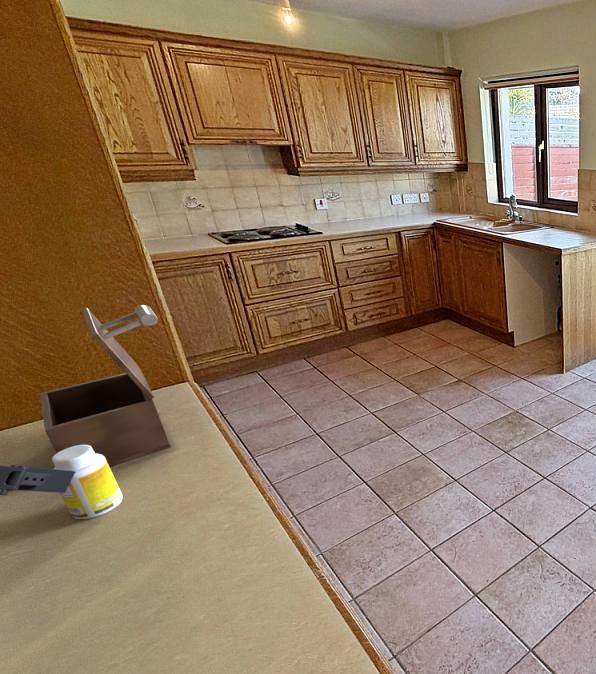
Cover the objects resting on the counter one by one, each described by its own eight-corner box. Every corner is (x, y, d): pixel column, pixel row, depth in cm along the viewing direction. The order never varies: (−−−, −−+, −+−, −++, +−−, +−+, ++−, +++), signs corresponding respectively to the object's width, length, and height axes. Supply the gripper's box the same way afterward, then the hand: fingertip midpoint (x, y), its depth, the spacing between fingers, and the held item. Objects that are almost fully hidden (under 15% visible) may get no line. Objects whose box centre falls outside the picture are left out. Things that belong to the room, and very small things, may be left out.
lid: (92, 336, 73) (152, 312, 78) (82, 309, 82) (136, 289, 87) (150, 399, 81) (202, 374, 85) (134, 369, 90) (182, 347, 95)
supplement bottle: (129, 490, 75) (105, 437, 71) (116, 514, 71) (90, 459, 66) (81, 500, 73) (54, 446, 69) (64, 526, 68) (34, 469, 64)
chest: (70, 480, 76) (44, 430, 72) (62, 439, 86) (40, 393, 82) (171, 447, 85) (153, 400, 81) (154, 413, 94) (137, 369, 91)
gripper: (-413, 482, 42) (-83, 496, 61) (-165, 513, 40) (93, 517, 60) (-343, 399, 44) (-48, 438, 64) (-107, 425, 43) (121, 456, 62)
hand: (20, 476), depth 62 cm, fingers open, 13 cm apart
